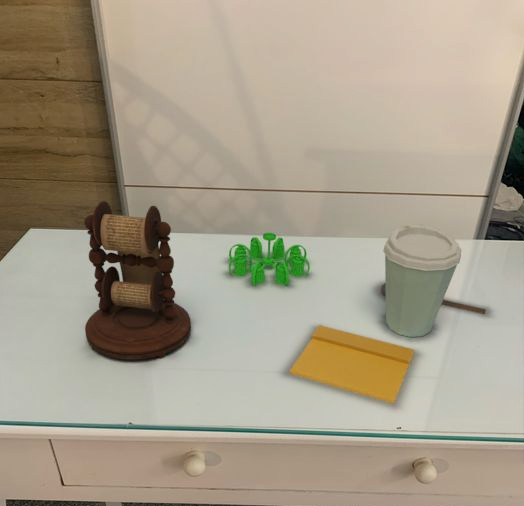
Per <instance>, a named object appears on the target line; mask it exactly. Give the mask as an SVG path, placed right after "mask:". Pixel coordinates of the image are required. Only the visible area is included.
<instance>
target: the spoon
mask: <svg viewBox="0 0 524 506" xmlns="http://www.w3.org/2000/svg"><path fill="white" fill-rule="evenodd" d="M380 294H381V296H383V297H384V298H386V282H384V283H383V284H382V285H381V286H380ZM441 306H445V307H446V306H447V307H450V308H455V309H459V310H464V311H466V312H467V311H468V312H472V313H477V314H481V315H486V311H487V309H486V308H481V307H477V306H473V305H468V304H465V303H460V302H455V301H452V300H451V301H450V300H446V299H443V301H442V304H441Z"/></svg>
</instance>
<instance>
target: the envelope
mask: <svg viewBox="0 0 524 506" xmlns="http://www.w3.org/2000/svg"><path fill="white" fill-rule="evenodd" d="M414 353H415V349H414V348H410V347H405V346H402V345H398V344H394V343H390V342H386V341H382V340H377V339H375V338H371V337H367V336H363V335H359V334H355V333H353V332H348V331H344V330H341V329H336V328H333V327H329V326H325V325H321V324H320V325H318V327H317V328H316V329H315V331H314V332H313V333H312V337H311V339H310V340H309V342H308V344H307V345H306V347H305V348H304V349H303V351H302V352H301V354H300V355H299V357H298V358H297V359H296V361H295V362H294V364H293V366H292V367H291V368H290V370H289V374H290V375H294V376H298V377H301V378H305V379H308V380H311V381H315V382H318V383H322V384H325V385H328V386H331V387H334V388H339V389H342V390H345V391H349V392H352V393H356V394H358V395H362V396H366V397H370V398H373V399H376V400H380V401H383V402H387V403H389V404H393V405H394V404H395V401H396V399H397V397H398V394H399V391H400V389H401V387H402V384H403V382H404V379H405V377H406V374H407V371H408V369H409V366H410V364H411V362H412V359H413V357H414Z"/></svg>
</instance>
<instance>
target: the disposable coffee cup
mask: <svg viewBox="0 0 524 506" xmlns="http://www.w3.org/2000/svg"><path fill="white" fill-rule="evenodd" d="M382 252H383V253H384V262H385V263H384V265H385V267H384V268H385V271H384V273H385V276H384V277H385V283H386V297H385V324H386V325H387V327H388V329H389V330H390V331H392V332H394V333H395V334H397V335H399V336H405V337H409V338H419V337H424V336H426V335H428V334H430V333H431V332H432V329H433V326H434V323H435V321H436V318H437V316H438V314H439V311H440V308H441V306H442V305H441V304H442V301H443V300H445V297H446V293H447V291H448V289H449V287H450V284H451V281H452V278H453V276H454V274H455V271H456V269H457V266H458V265H460V262H461V259H462V248H461V247H460V244H459V243H458V241H456V239H455V238H454V237H453V236H452V235H450V234H449V233H447V232H445V231H443V230H441V229H439V228H437V227H432V226H428V225H423V224H414V225H413V224H411V225H404V226H400V227H398V228H395V229H392V231H391V233H390V236H389V237H388V238H387V240H386V241H385V244H384V246H383V250H382Z"/></svg>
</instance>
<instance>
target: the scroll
mask: <svg viewBox="0 0 524 506" xmlns="http://www.w3.org/2000/svg"><path fill="white" fill-rule="evenodd" d="M161 217H162V216H161V212H160V210H159V208H158V207H157V206H156V205H151V206H150V207H149V208H148V210H147V212H146V214H145V217H141V216H140V217H139V216H131V215H121V214H119V215H118V214H113V211H112V207H111V206H110V204H109V202H107V201H105V200H101V201H100V202H98V204H97V205H96V206H95V208H94V212H93V214H89V215H86V217H85V219H84V222H83V223H84V226H85V228H86V229H87V232H86V233H87V235H89V236H90V237H89V242H88V243H89V247H90V248H91V249H90V250H89V252H88V260H89V262H90V263H91V264H92V266H93V267H95V269H94V278H95V279H96V282H94V289H95V291H96V292H97V297H98V298H99V302H98V308H99V309H97V310H96V311H95V312H93V313H92V314H91V315H90V316H89V318H88V319H87V320H86V323H85V327H84V329H85V330H84V331H85V337H86V341H87V343H88V344H89V346H90V347H91V349H92V351H96V352H97V353H100V354H102V355H103V356H104V355H105V356H107V357H111V358H114V359H121V360H142V359H150V358H154V357H157V358H158V359H164V358H165V357H166V356H165V355H166V354H167V353H169V352H172V351H173V350H175V349H177V348H178V347H180V346H181V345H183V344H184V342H185V341H187V340H188V338H189V336H190V334H191V330H192V322H191V316H190V314H189V313H188V311H187V310H186V309H185V308H184V307H183V306H181V305H180V304H177V303H176V302H175V300H174V298H175V297H176V290H175V289H174V288H173V286H174V281H173V277H172V275H171V274H172V273H173V270H174V267H175V260H174V258H173V256H171V252H172V250H171V247H170V244H169V241H171V237H170V235H171V231H172V228H171V225H170V224H169V223H168V222H166V221H162V218H161ZM159 243H160V244H159ZM101 247H102V248H101ZM106 251H111V252H106ZM115 252H116V253H115ZM106 262H107V263H109V264H118V263H119V266H120V272H121V277H120V273H119V270H118V269H117V267H116V266H109V267H108V268H107V269H106V271H105V269H104V267H103V266H105V263H106ZM121 278H122V279H121ZM121 280H122V281H121Z"/></svg>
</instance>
